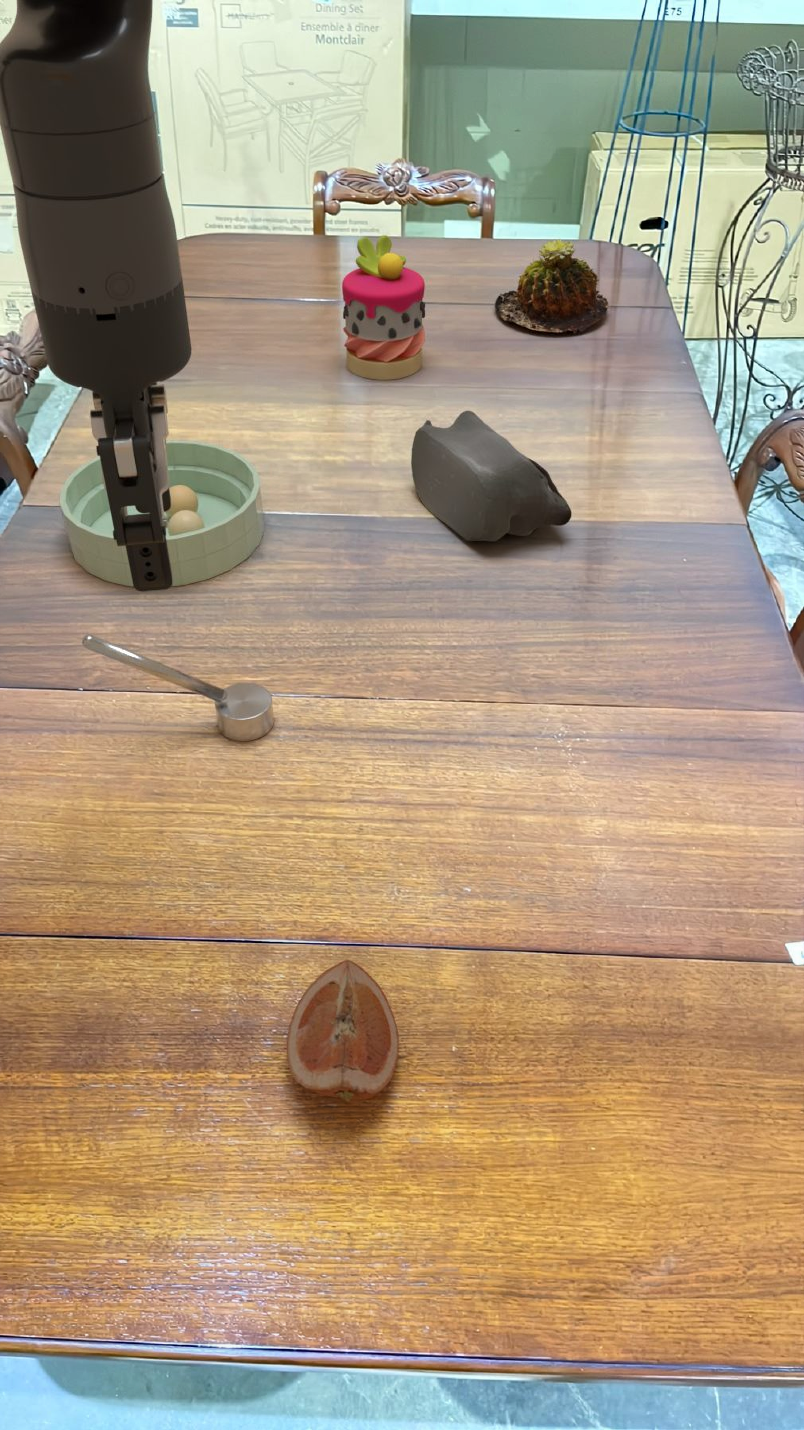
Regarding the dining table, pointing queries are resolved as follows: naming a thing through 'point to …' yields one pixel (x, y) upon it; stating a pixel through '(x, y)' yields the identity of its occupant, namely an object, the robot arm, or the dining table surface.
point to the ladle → (205, 692)
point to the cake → (383, 314)
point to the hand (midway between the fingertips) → (154, 546)
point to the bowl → (195, 555)
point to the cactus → (554, 293)
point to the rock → (482, 482)
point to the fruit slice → (343, 1035)
